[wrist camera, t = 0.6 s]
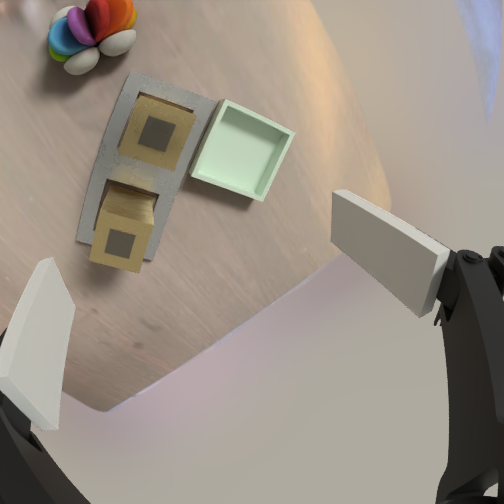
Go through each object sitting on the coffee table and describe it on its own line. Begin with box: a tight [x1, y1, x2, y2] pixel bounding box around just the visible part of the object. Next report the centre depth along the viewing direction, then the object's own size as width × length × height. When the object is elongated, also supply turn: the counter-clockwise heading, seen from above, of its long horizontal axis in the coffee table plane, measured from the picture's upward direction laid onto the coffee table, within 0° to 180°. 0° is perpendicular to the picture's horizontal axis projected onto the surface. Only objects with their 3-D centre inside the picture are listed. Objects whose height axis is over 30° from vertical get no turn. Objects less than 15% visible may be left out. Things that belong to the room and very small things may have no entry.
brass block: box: [89, 184, 154, 273], centre depth 28 cm, size 5×5×9 cm
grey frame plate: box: [76, 71, 216, 261], centre depth 30 cm, size 10×20×1 cm, turn 154°
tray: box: [188, 99, 295, 202], centre depth 32 cm, size 9×9×2 cm
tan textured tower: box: [117, 95, 197, 171], centre depth 25 cm, size 5×5×9 cm
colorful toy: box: [48, 0, 137, 75], centre depth 18 cm, size 8×10×7 cm
